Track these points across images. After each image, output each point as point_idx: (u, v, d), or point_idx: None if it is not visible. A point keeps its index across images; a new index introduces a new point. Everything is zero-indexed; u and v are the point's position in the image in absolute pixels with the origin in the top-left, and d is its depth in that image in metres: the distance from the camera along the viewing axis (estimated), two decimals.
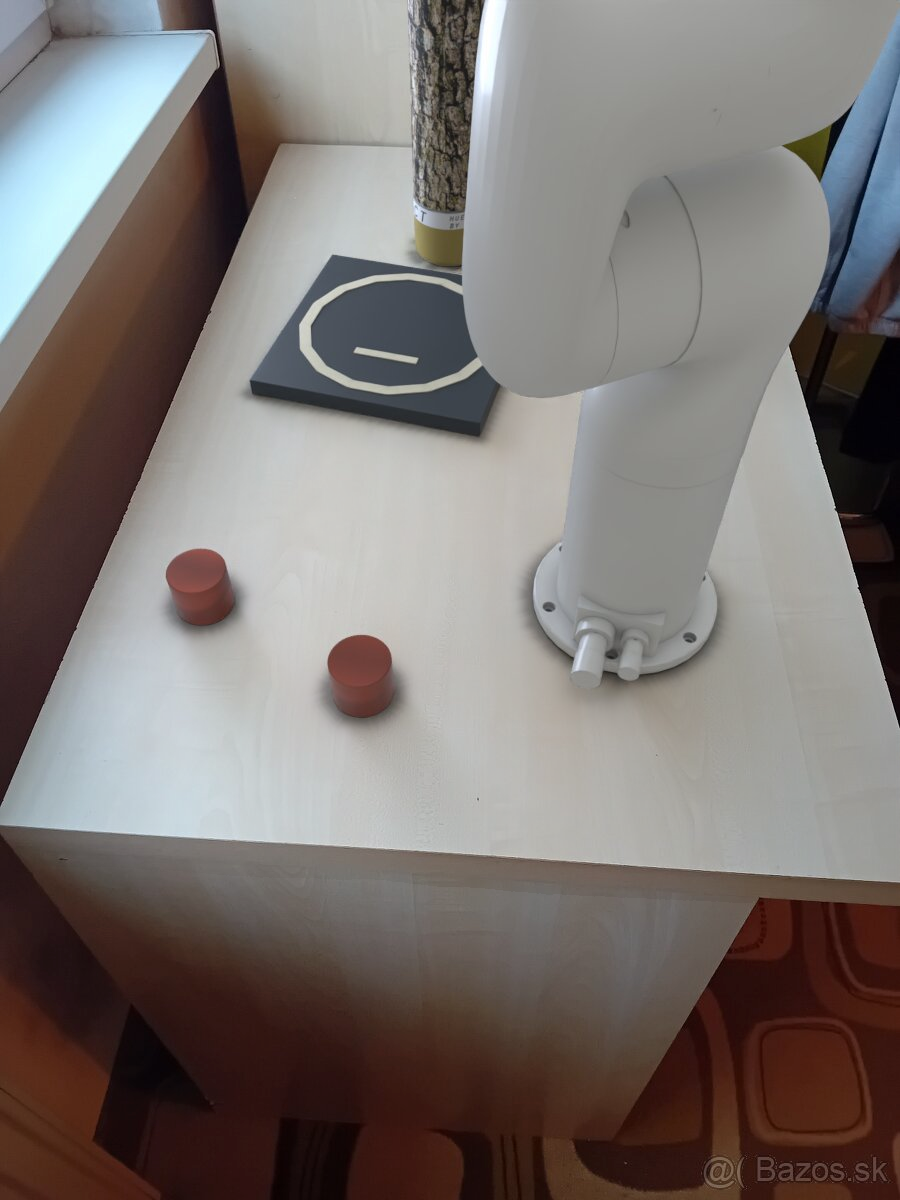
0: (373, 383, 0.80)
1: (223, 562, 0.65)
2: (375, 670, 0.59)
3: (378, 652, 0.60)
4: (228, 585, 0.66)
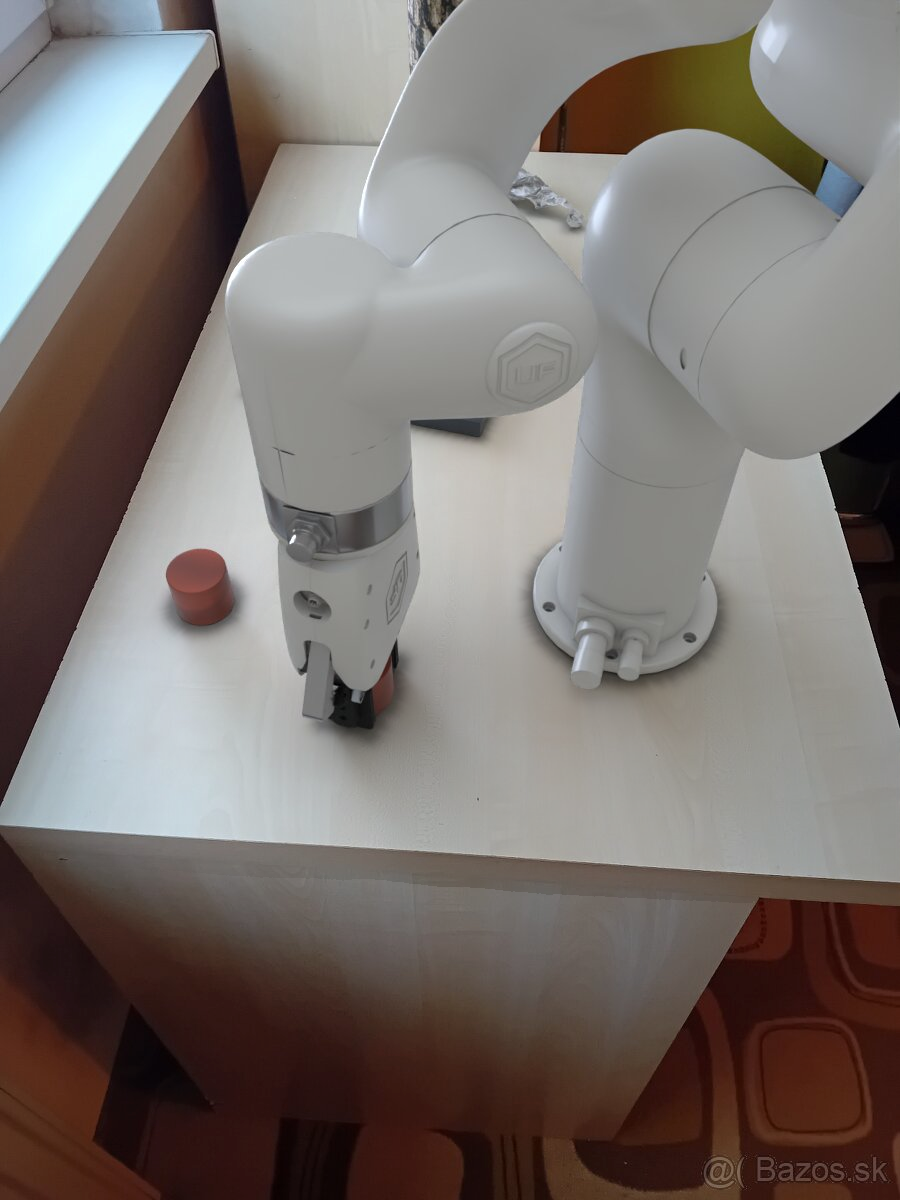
0: None
1: (223, 562, 0.65)
2: None
3: None
4: (228, 585, 0.66)
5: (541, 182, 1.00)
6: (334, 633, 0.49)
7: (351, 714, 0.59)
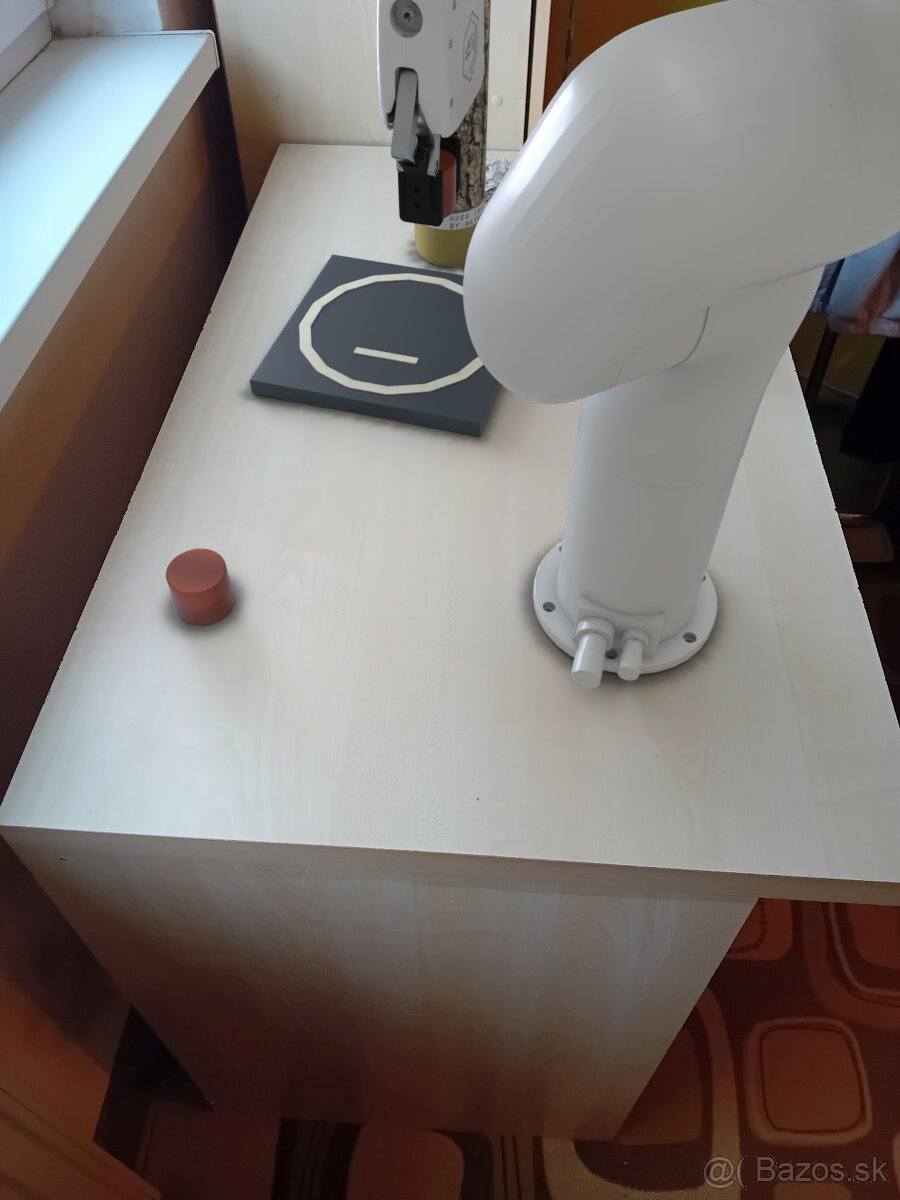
0: (373, 383, 0.80)
1: (223, 562, 0.65)
2: (442, 165, 0.69)
3: (444, 156, 0.69)
4: (228, 585, 0.66)
5: None
6: (423, 50, 0.58)
7: (425, 198, 0.68)
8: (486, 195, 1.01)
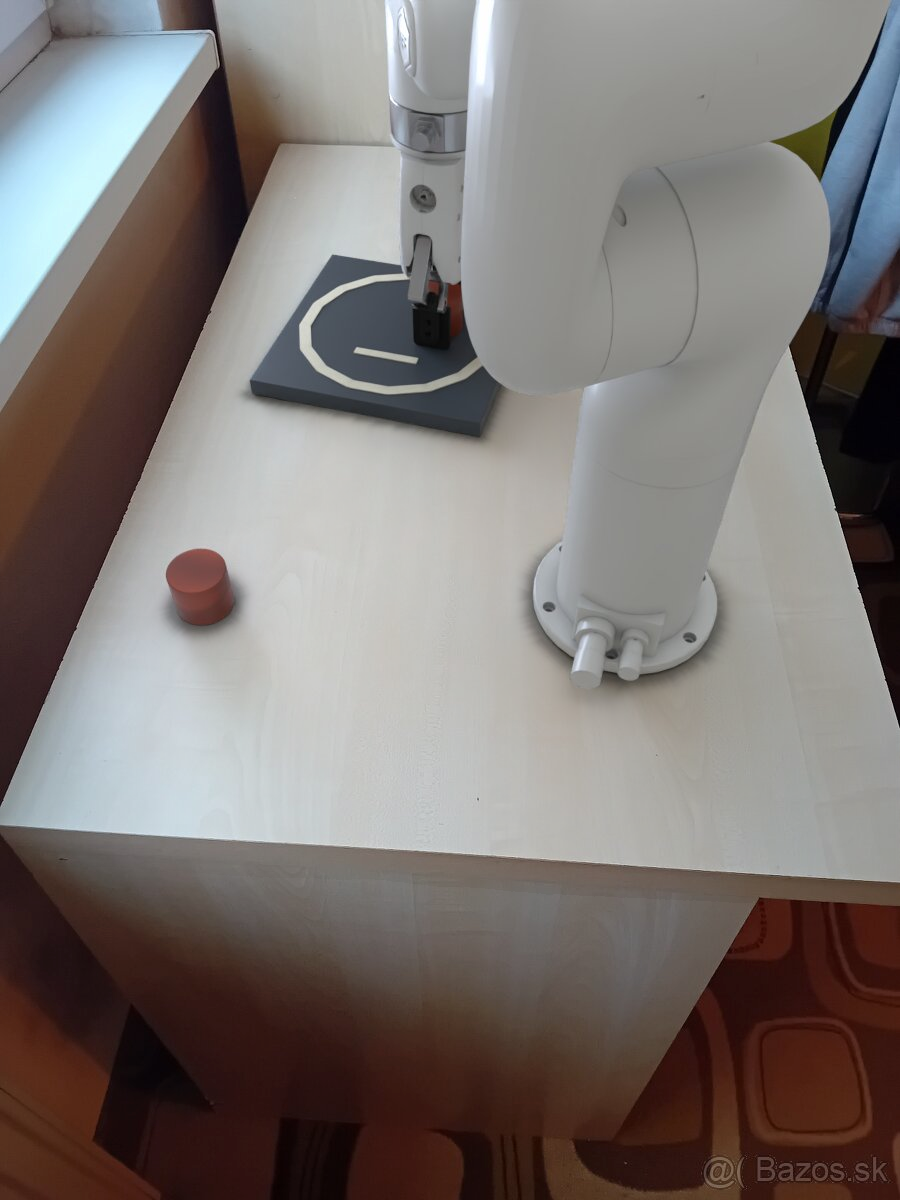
0: (373, 383, 0.80)
1: (223, 562, 0.65)
2: (451, 296, 0.82)
3: (453, 287, 0.83)
4: (228, 585, 0.66)
5: None
6: (436, 223, 0.72)
7: (435, 329, 0.81)
8: None
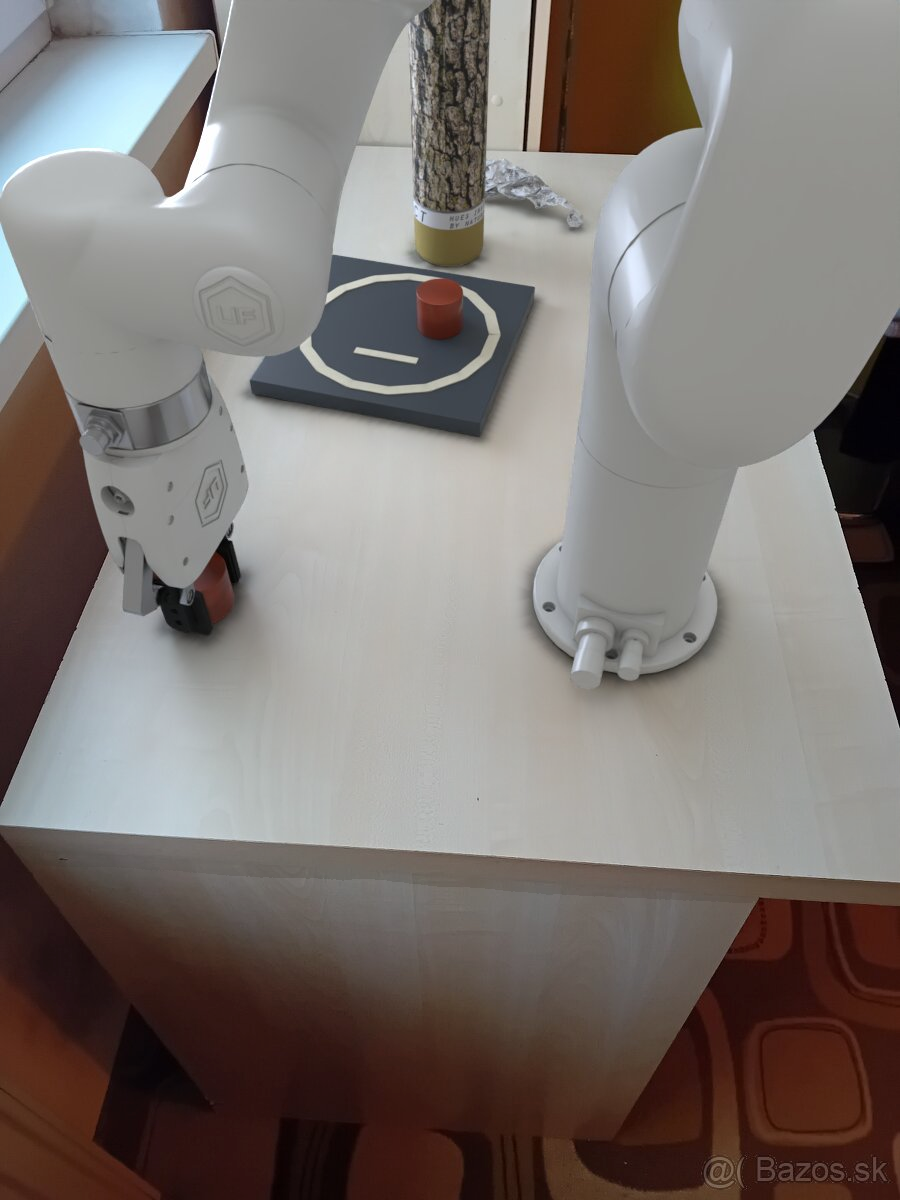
0: (373, 383, 0.80)
1: (223, 562, 0.65)
2: (451, 296, 0.82)
3: (453, 287, 0.83)
4: (228, 585, 0.66)
5: (541, 182, 1.00)
6: (141, 528, 0.54)
7: (184, 618, 0.63)
8: (486, 195, 1.01)
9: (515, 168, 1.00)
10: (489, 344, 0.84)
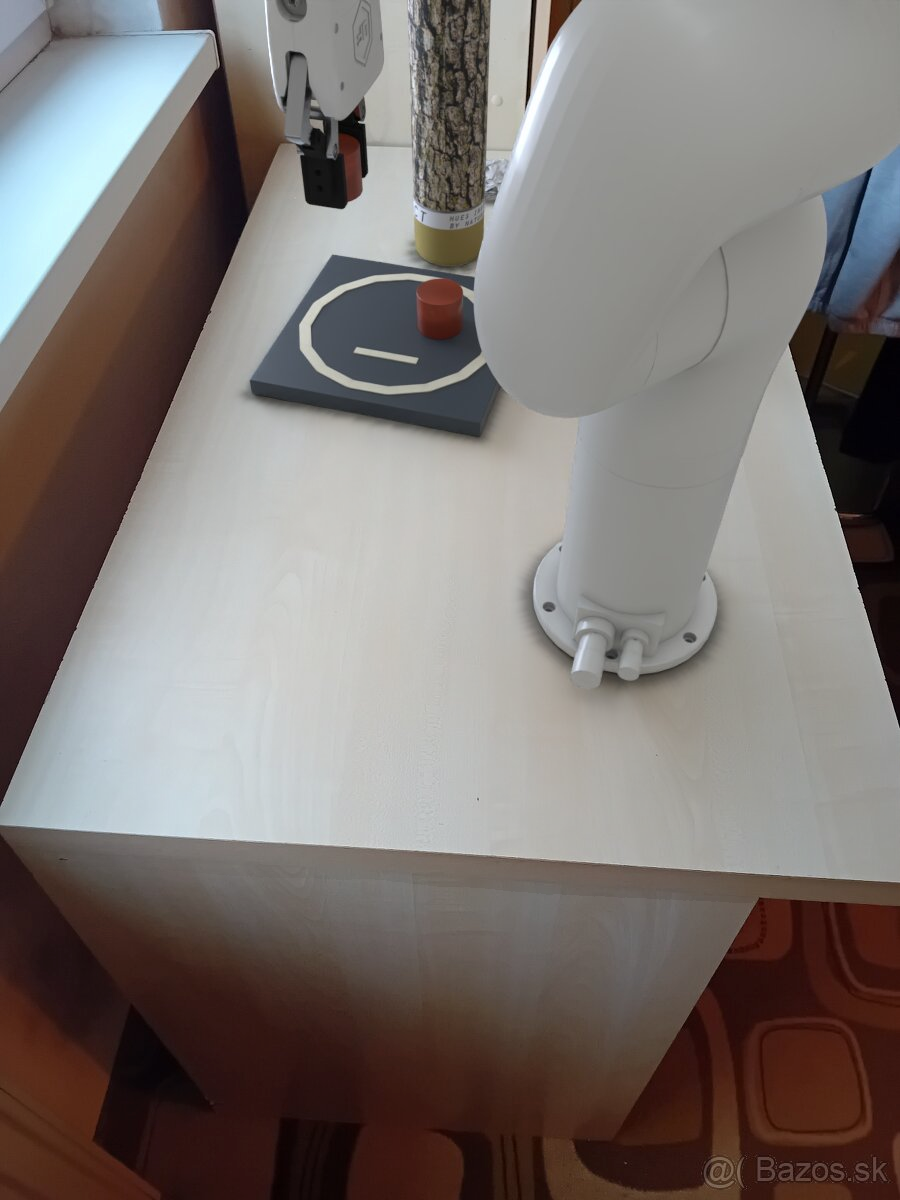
0: (373, 383, 0.80)
1: (356, 140, 0.71)
2: (451, 296, 0.82)
3: (453, 287, 0.83)
4: (360, 164, 0.72)
5: None
6: (309, 35, 0.61)
7: (326, 180, 0.70)
8: (486, 195, 1.01)
9: None
10: None
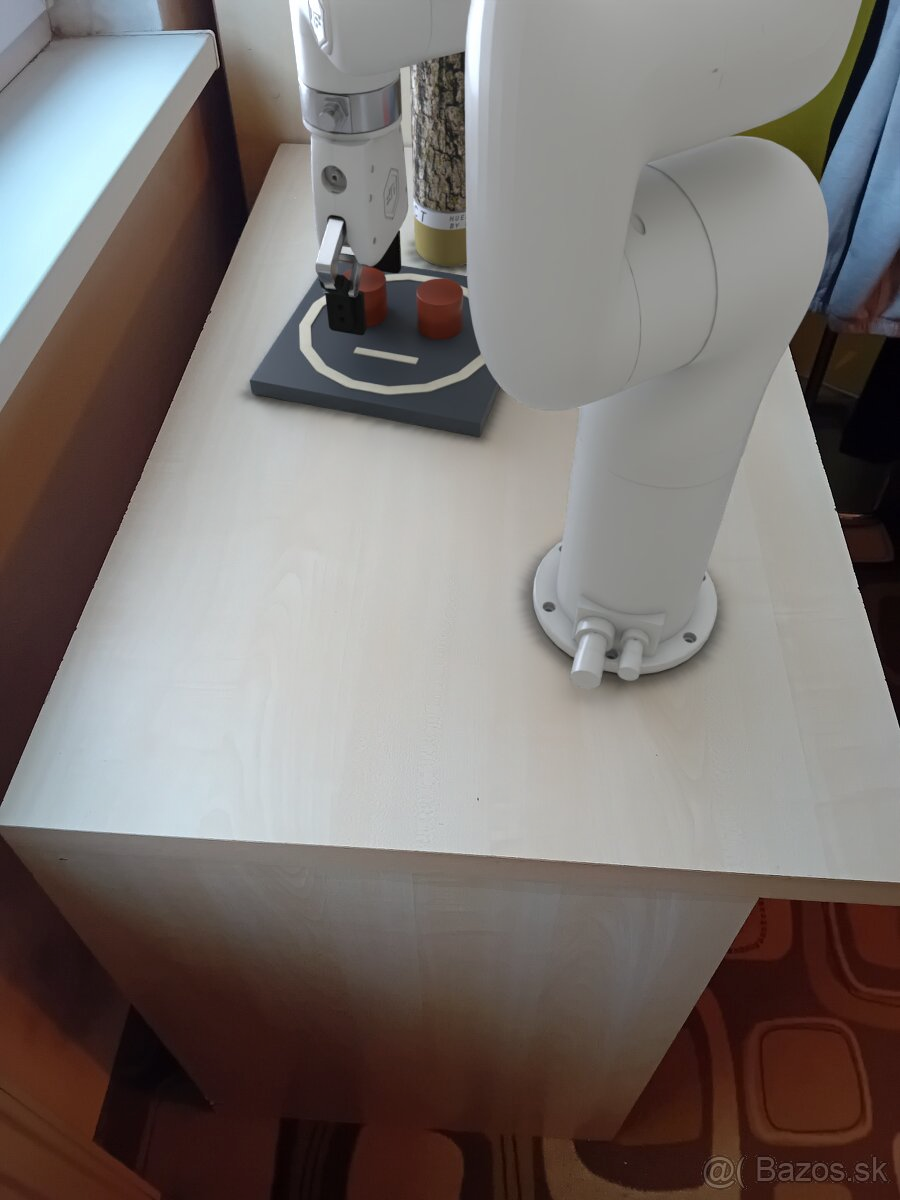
0: (373, 383, 0.80)
1: (383, 274, 0.84)
2: (451, 296, 0.82)
3: (453, 287, 0.83)
4: (386, 294, 0.85)
5: None
6: (348, 204, 0.73)
7: (348, 313, 0.80)
8: None
9: None
10: None
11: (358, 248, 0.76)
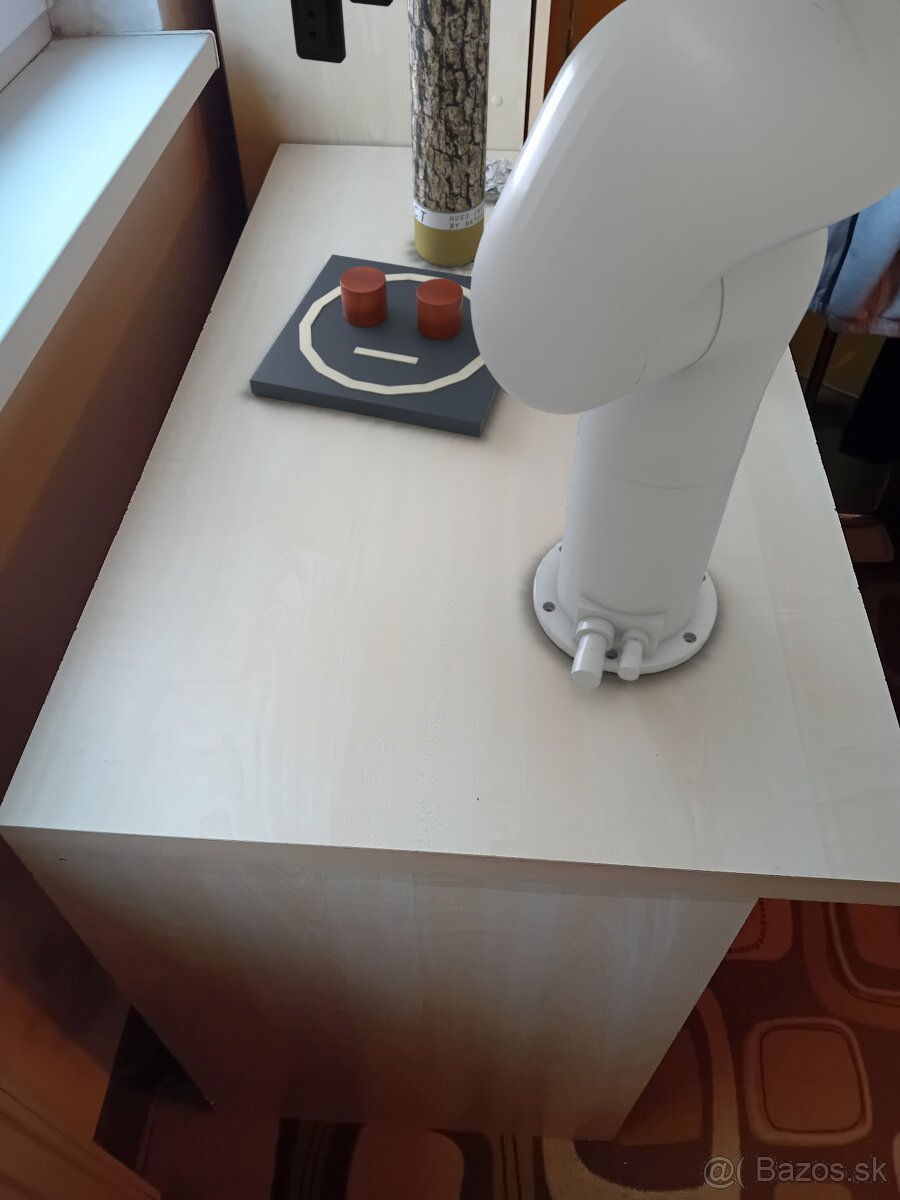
0: (373, 383, 0.80)
1: (383, 274, 0.84)
2: (451, 296, 0.82)
3: (453, 287, 0.83)
4: (386, 294, 0.85)
5: None
6: None
7: (321, 24, 0.59)
8: (486, 195, 1.01)
9: None
10: None
11: None
